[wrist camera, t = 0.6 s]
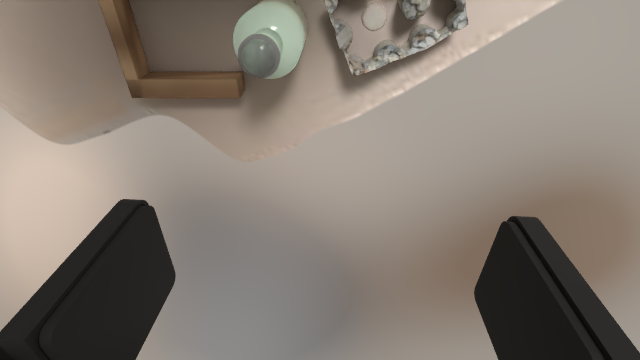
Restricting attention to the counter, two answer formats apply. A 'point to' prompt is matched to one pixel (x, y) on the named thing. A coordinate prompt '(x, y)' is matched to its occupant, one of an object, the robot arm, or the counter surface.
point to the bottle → (270, 38)
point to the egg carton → (373, 18)
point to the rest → (160, 82)
